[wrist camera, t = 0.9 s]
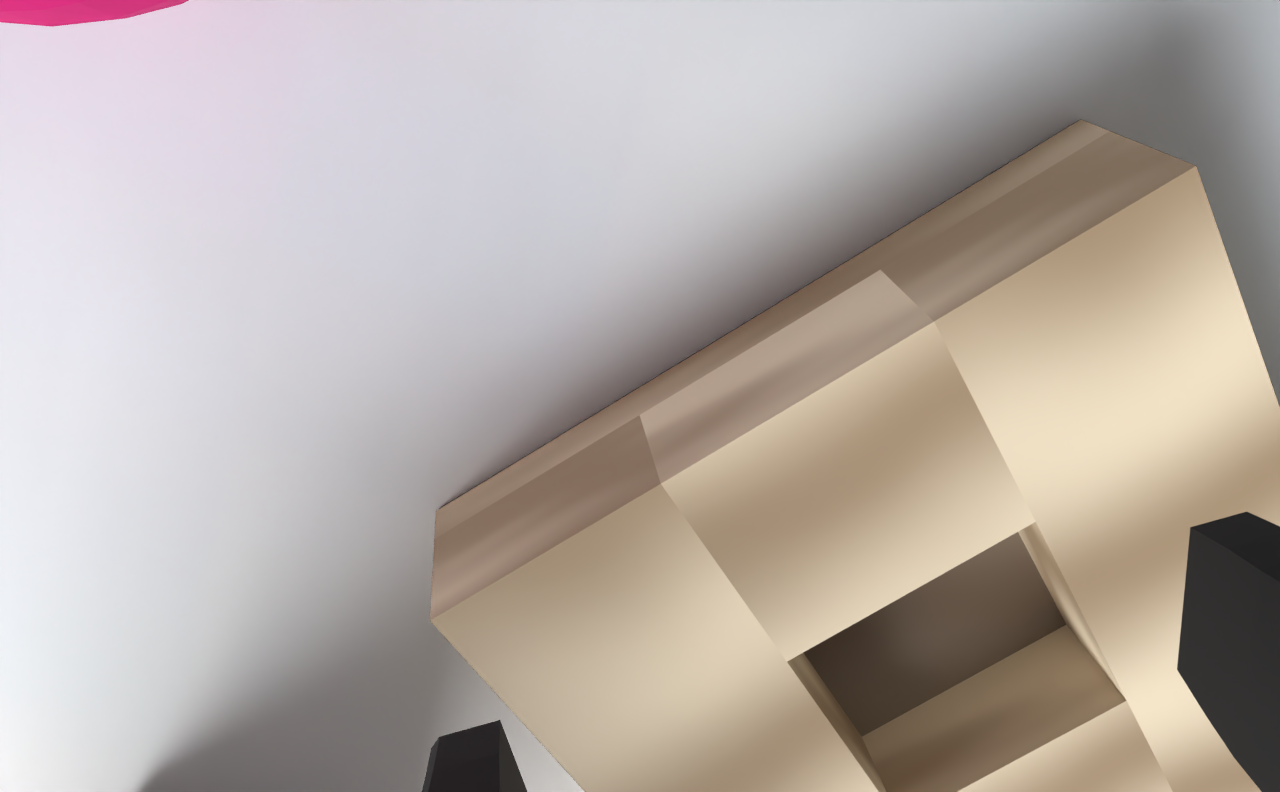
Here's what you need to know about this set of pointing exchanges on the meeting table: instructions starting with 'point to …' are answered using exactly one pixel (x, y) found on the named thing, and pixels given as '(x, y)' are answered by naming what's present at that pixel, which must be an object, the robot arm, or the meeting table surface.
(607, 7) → the meeting table surface
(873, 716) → the bore block
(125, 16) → the pepper mill
